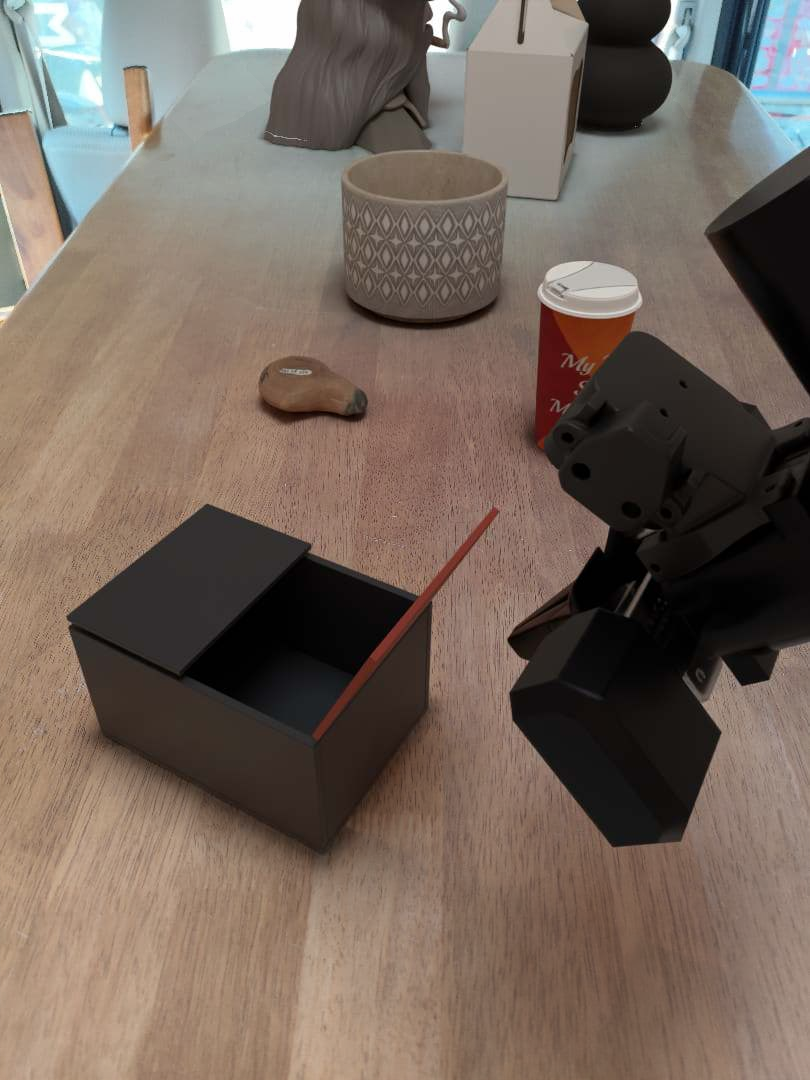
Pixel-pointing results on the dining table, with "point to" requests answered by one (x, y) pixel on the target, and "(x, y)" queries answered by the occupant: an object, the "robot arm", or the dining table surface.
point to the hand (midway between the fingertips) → (516, 643)
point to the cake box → (526, 92)
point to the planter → (423, 233)
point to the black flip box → (254, 670)
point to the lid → (403, 625)
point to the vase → (623, 63)
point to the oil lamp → (309, 387)
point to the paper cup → (578, 331)
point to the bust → (357, 76)
